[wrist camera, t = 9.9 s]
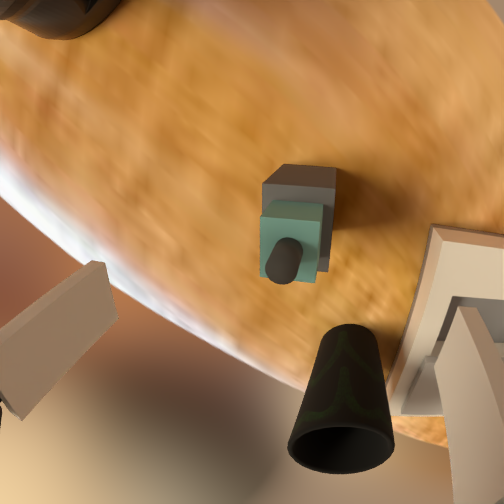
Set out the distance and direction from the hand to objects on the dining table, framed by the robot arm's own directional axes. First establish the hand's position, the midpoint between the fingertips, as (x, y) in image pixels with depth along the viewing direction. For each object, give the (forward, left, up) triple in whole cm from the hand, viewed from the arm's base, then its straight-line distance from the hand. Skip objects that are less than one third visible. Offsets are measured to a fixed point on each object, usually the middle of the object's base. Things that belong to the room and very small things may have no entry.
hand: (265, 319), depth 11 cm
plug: (0, 0, -15) cm, 15 cm away
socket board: (+10, +17, -15) cm, 25 cm away
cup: (+14, +5, -16) cm, 21 cm away
